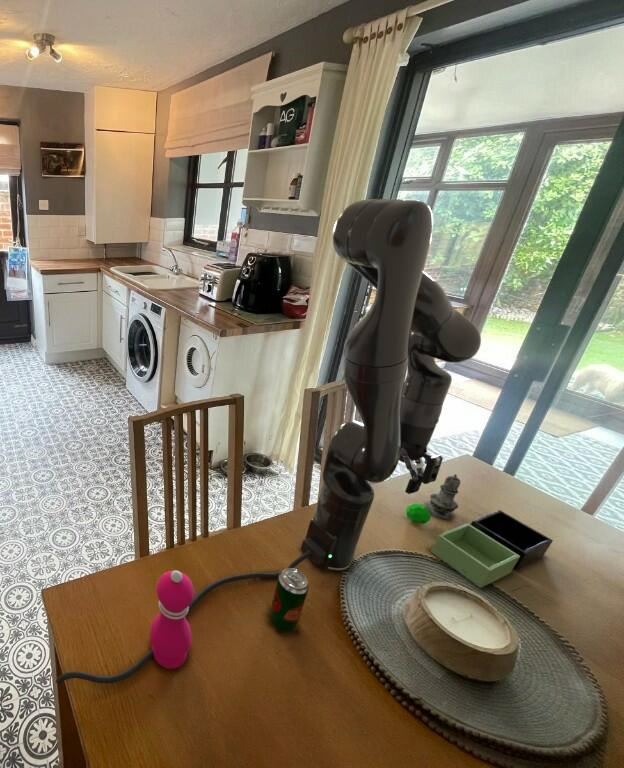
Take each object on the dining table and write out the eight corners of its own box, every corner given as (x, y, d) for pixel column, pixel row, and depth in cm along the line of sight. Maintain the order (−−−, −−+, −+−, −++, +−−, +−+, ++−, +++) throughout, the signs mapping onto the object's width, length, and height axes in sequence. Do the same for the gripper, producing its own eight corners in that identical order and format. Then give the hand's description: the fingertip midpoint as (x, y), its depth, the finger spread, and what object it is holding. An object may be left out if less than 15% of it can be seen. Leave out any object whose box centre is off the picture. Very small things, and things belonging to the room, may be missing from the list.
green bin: (480, 588, 85) (490, 570, 83) (430, 551, 94) (438, 535, 91) (510, 573, 88) (520, 556, 86) (459, 539, 97) (467, 523, 95)
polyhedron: (428, 530, 99) (435, 516, 97) (405, 524, 101) (411, 509, 99) (424, 517, 103) (431, 502, 101) (402, 511, 105) (407, 497, 103)
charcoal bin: (515, 570, 89) (525, 553, 87) (464, 537, 98) (472, 520, 95) (542, 556, 92) (553, 540, 90) (491, 525, 101) (499, 509, 99)
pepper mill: (179, 680, 69) (189, 601, 60) (141, 657, 72) (146, 578, 64) (195, 644, 74) (206, 566, 66) (159, 624, 78) (165, 547, 69)
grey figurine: (458, 521, 102) (476, 483, 97) (431, 518, 103) (448, 480, 98) (445, 505, 107) (462, 468, 102) (420, 502, 108) (436, 465, 103)
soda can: (283, 639, 75) (296, 595, 70) (262, 616, 79) (273, 572, 74) (302, 627, 77) (316, 583, 72) (281, 605, 81) (292, 562, 76)
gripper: (369, 404, 88) (350, 465, 95) (438, 438, 76) (410, 505, 83) (394, 398, 90) (374, 458, 97) (464, 430, 78) (435, 496, 85)
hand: (390, 480), depth 90 cm, fingers open, 8 cm apart
